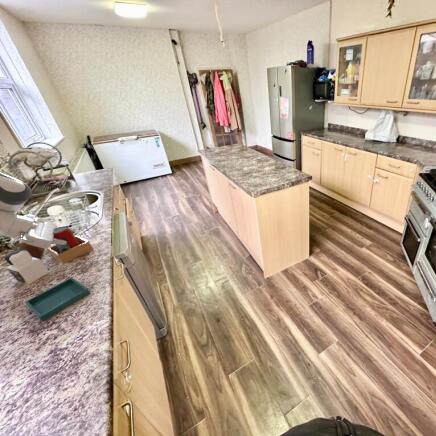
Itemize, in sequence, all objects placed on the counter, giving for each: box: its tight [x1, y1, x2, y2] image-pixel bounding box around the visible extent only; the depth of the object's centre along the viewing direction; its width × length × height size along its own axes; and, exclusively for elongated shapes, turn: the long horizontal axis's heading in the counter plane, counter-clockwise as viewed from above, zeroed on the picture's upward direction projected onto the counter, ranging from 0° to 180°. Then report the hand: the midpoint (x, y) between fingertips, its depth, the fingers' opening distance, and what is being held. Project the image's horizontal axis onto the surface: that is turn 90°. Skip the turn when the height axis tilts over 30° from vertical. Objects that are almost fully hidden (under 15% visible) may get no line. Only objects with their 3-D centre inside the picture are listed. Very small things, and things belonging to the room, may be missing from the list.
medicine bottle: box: [4, 249, 50, 285], centre depth 90 cm, size 7×7×12 cm
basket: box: [46, 235, 94, 265], centre depth 106 cm, size 12×12×4 cm
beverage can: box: [53, 226, 79, 253], centre depth 104 cm, size 7×7×12 cm
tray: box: [24, 276, 91, 323], centre depth 82 cm, size 13×13×2 cm
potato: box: [18, 241, 45, 259], centre depth 104 cm, size 8×12×8 cm, turn 47°
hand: (66, 238), depth 103 cm, fingers closed on beverage can, 7 cm apart
